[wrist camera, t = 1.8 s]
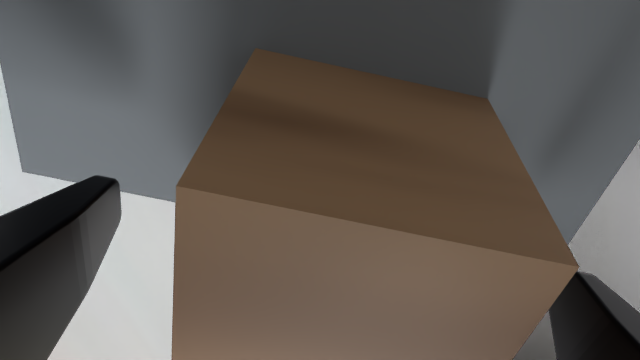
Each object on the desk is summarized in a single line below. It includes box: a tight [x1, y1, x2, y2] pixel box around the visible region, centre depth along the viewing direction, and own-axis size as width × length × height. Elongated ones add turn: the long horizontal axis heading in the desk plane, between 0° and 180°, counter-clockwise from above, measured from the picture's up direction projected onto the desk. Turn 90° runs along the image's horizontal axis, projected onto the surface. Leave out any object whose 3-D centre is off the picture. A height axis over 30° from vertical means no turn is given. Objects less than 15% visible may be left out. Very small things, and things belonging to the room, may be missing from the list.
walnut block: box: [172, 48, 579, 360], centre depth 9 cm, size 5×5×5 cm
